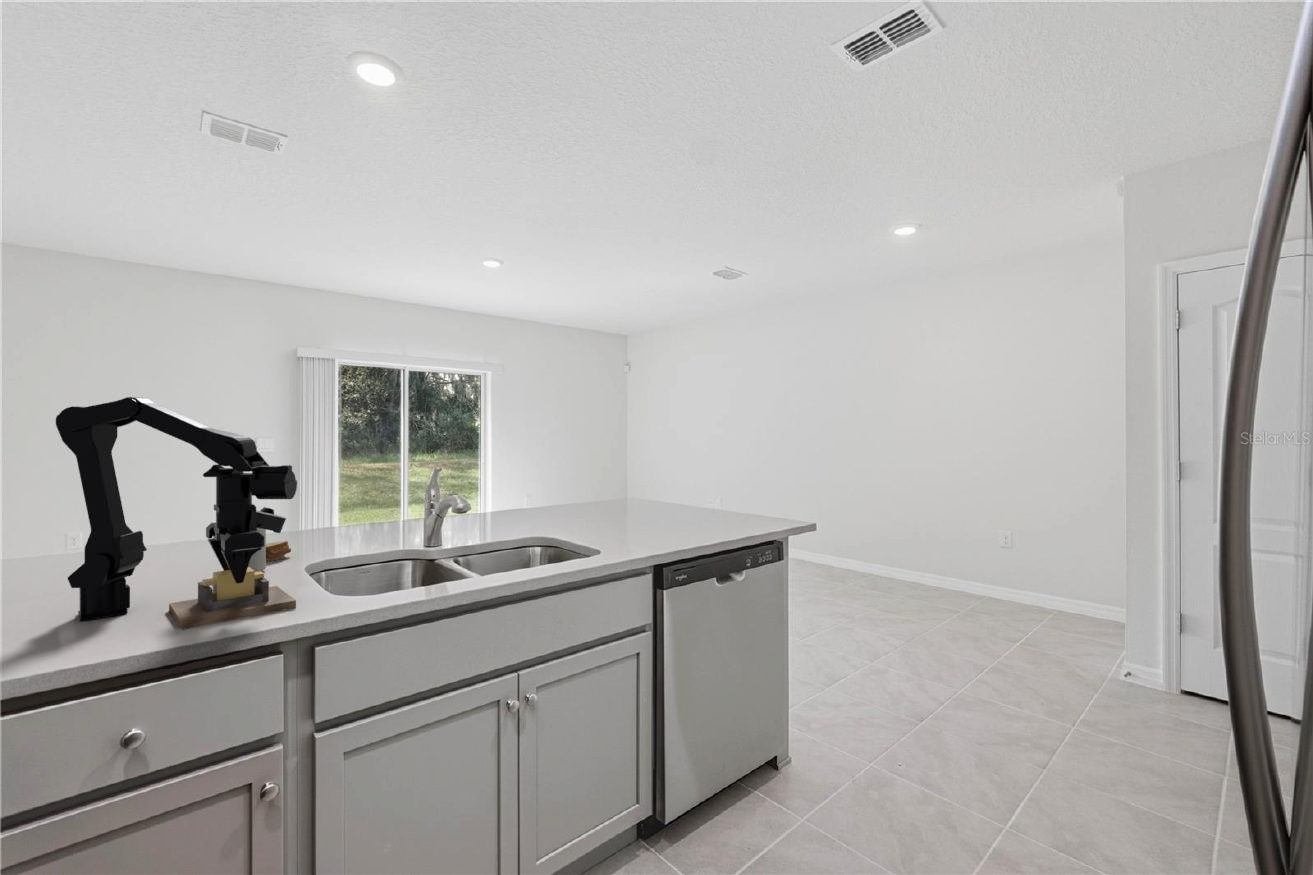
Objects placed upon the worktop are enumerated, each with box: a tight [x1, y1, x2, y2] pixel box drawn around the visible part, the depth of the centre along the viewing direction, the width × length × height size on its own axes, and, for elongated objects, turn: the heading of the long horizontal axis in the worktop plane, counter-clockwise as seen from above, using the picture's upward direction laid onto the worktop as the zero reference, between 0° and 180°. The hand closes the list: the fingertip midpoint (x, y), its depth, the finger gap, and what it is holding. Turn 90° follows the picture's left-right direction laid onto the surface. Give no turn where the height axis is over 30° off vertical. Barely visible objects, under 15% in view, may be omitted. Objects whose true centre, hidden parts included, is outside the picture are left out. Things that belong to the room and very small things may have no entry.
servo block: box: [201, 567, 265, 602], centre depth 115 cm, size 10×4×6 cm, turn 137°
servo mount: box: [168, 577, 297, 630], centre depth 115 cm, size 18×14×6 cm
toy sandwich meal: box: [266, 540, 292, 563], centre depth 155 cm, size 12×14×5 cm
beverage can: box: [248, 528, 267, 572], centre depth 142 cm, size 6×6×12 cm
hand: (234, 578), depth 115 cm, fingers open, 9 cm apart
